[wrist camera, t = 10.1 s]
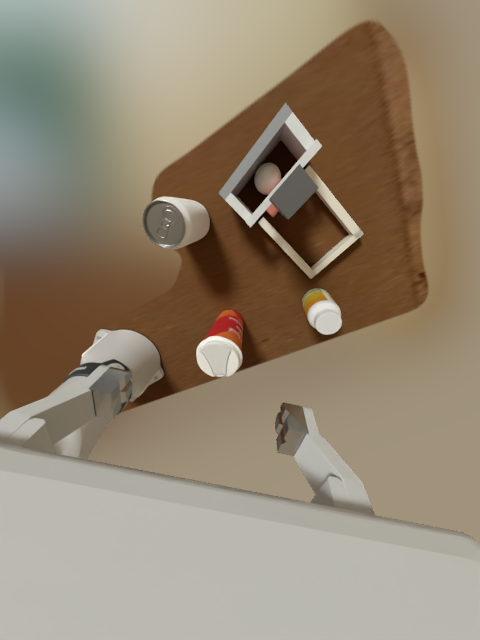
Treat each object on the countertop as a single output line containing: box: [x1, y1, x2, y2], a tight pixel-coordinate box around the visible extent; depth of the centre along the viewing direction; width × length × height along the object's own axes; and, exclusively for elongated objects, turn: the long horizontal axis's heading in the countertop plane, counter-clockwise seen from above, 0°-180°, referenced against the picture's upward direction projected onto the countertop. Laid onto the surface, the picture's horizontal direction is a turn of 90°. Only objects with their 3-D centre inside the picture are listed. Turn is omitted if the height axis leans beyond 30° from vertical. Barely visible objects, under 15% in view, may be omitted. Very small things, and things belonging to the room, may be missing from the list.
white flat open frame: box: [258, 165, 363, 279], centre depth 35 cm, size 10×13×2 cm
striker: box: [266, 164, 318, 219], centre depth 28 cm, size 6×3×14 cm, turn 137°
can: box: [143, 197, 210, 249], centre depth 32 cm, size 6×6×12 cm
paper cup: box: [196, 310, 243, 377], centre depth 40 cm, size 8×8×14 cm
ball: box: [254, 163, 281, 195], centre depth 32 cm, size 4×4×4 cm
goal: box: [219, 103, 322, 228], centre depth 30 cm, size 12×6×8 cm, turn 137°
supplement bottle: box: [302, 289, 342, 335], centre depth 37 cm, size 5×5×10 cm
